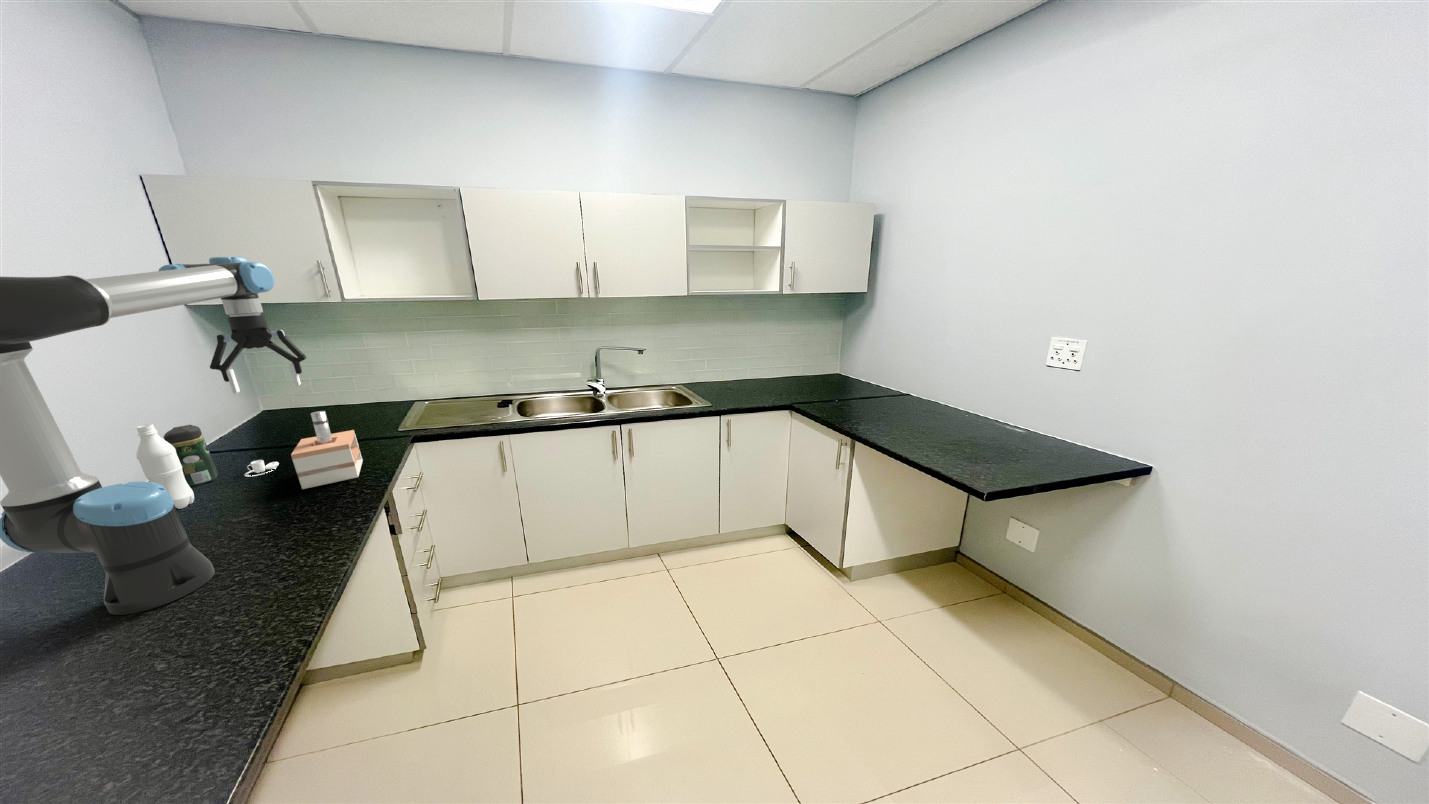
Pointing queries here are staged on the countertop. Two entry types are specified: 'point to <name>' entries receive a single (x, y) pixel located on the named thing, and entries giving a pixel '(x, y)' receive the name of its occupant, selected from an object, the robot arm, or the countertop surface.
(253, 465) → the teacup and saucer
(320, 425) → the metal tube
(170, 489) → the water bottle
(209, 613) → the countertop surface
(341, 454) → the tissue box
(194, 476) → the coffee jar
